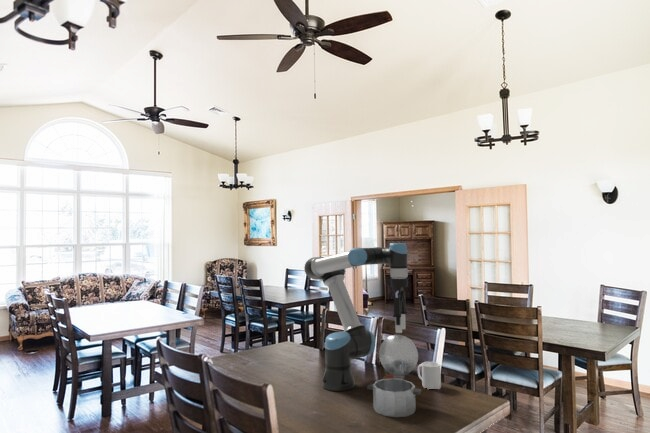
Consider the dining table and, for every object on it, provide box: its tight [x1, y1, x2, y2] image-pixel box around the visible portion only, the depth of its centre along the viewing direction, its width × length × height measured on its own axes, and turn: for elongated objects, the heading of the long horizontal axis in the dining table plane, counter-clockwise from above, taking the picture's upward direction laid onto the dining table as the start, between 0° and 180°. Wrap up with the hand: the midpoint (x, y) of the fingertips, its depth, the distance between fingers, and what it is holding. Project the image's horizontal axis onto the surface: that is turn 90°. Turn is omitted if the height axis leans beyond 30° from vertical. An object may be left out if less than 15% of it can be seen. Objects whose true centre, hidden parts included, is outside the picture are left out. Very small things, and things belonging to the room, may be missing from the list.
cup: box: [417, 361, 442, 390], centre depth 188 cm, size 8×12×10 cm
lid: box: [378, 334, 419, 379], centre depth 174 cm, size 16×17×2 cm
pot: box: [366, 378, 422, 418], centre depth 163 cm, size 21×17×9 cm
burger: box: [382, 373, 405, 380], centre depth 189 cm, size 10×9×5 cm
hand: (400, 330), depth 180 cm, fingers open, 7 cm apart
